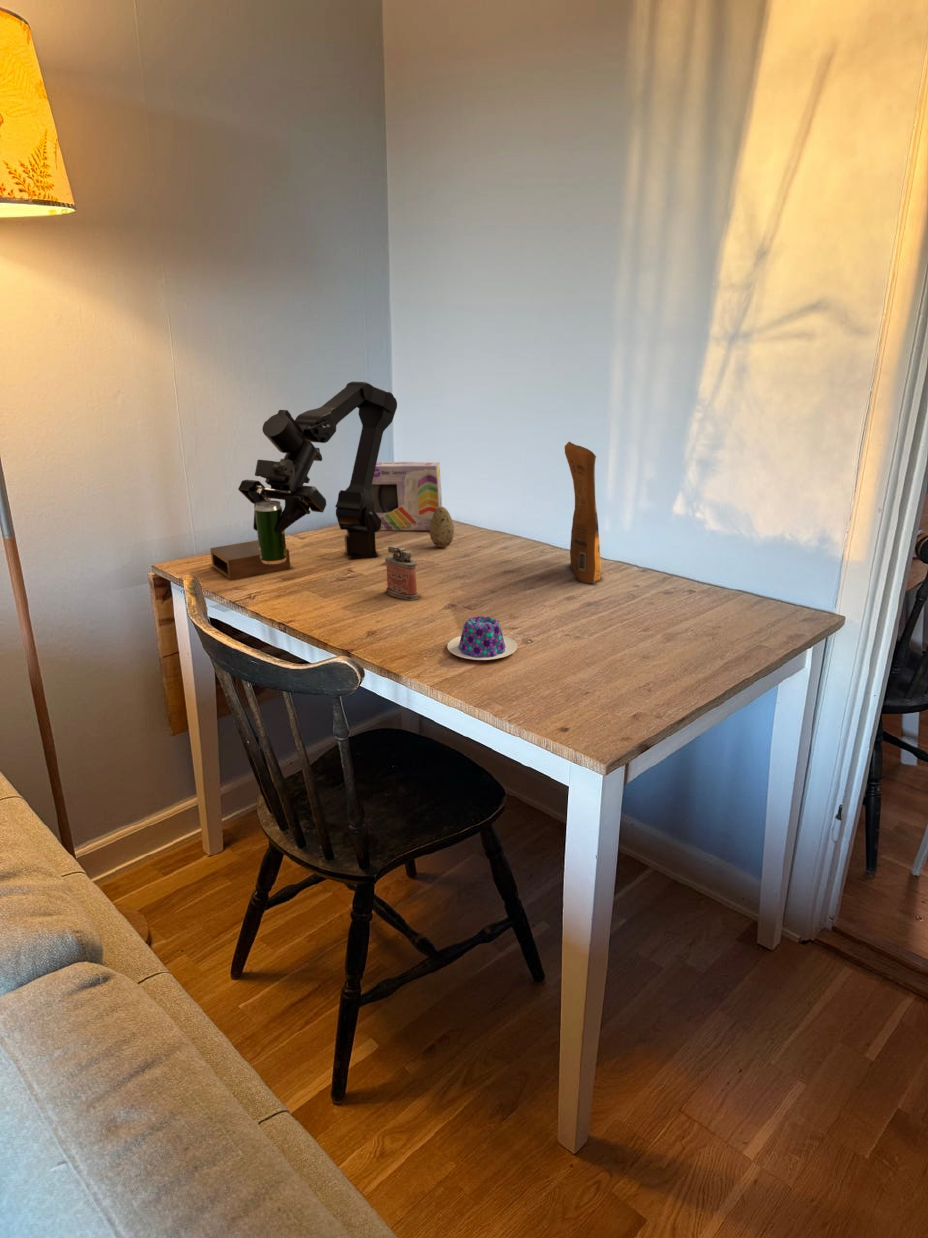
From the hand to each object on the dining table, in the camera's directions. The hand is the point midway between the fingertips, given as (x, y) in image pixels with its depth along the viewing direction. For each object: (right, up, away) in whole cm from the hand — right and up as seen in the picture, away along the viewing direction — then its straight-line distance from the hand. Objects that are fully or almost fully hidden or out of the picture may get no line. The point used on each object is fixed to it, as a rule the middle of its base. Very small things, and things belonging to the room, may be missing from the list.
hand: (266, 531), depth 165 cm
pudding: (+43, -23, -24) cm, 54 cm away
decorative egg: (+34, 0, +38) cm, 51 cm away
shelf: (-9, -6, +23) cm, 25 cm away
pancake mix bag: (+66, -8, +16) cm, 68 cm away
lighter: (+27, -13, +4) cm, 30 cm away
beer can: (+1, -6, +4) cm, 7 cm away
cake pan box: (+24, +6, +54) cm, 60 cm away
